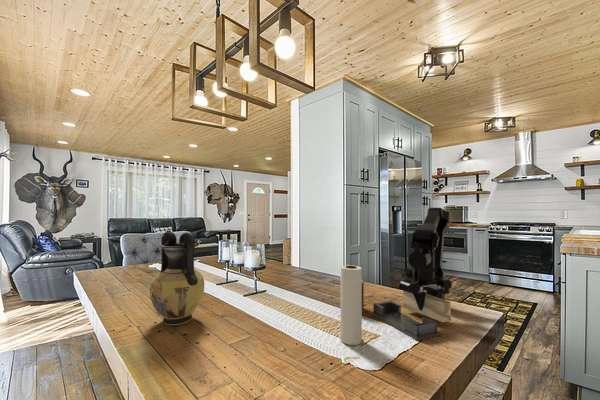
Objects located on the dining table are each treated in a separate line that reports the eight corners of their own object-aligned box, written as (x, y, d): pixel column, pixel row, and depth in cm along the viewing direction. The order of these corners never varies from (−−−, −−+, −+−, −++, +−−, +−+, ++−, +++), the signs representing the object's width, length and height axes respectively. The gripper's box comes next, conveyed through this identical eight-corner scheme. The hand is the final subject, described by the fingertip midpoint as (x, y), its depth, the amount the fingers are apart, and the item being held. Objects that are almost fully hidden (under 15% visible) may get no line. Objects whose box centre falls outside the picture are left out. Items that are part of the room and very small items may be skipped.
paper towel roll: (357, 348, 78) (357, 269, 78) (337, 342, 81) (337, 267, 81) (365, 337, 84) (365, 265, 84) (346, 333, 87) (347, 263, 88)
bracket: (391, 311, 106) (391, 300, 106) (440, 336, 85) (439, 322, 85) (371, 314, 103) (371, 303, 103) (416, 340, 82) (416, 327, 82)
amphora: (136, 326, 91) (138, 232, 92) (175, 308, 107) (177, 229, 108) (179, 335, 85) (181, 234, 86) (214, 315, 101) (216, 230, 101)
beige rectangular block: (411, 305, 107) (410, 289, 107) (450, 320, 93) (450, 301, 93) (403, 306, 105) (403, 290, 105) (442, 322, 91) (442, 303, 91)
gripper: (427, 259, 110) (428, 299, 110) (388, 262, 103) (388, 305, 103) (452, 264, 100) (452, 309, 99) (410, 268, 93) (411, 316, 93)
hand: (425, 309), depth 99 cm, fingers closed on beige rectangular block, 4 cm apart
